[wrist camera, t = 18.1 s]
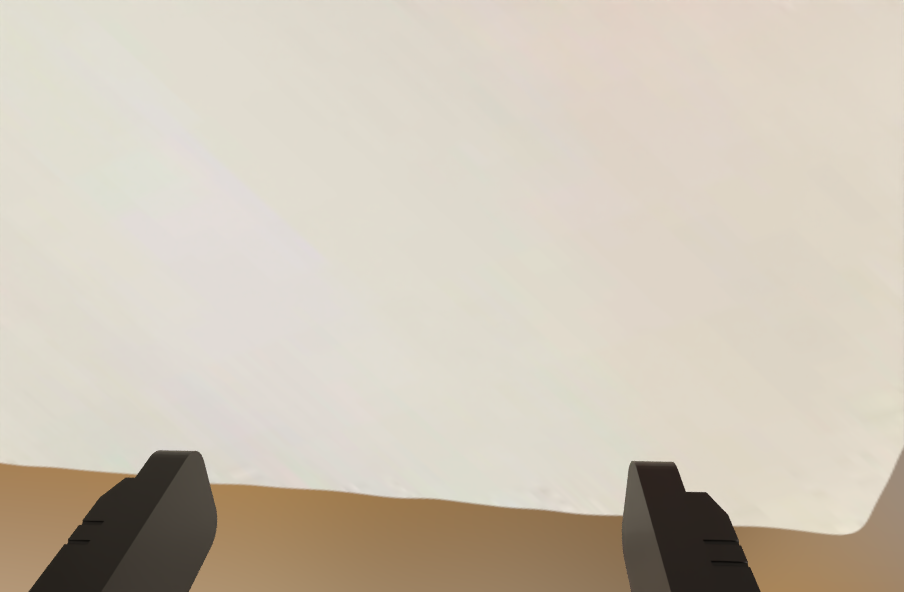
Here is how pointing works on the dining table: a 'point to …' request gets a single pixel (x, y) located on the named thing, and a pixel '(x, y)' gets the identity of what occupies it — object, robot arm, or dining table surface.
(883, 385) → the dining table surface
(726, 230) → the dining table surface
